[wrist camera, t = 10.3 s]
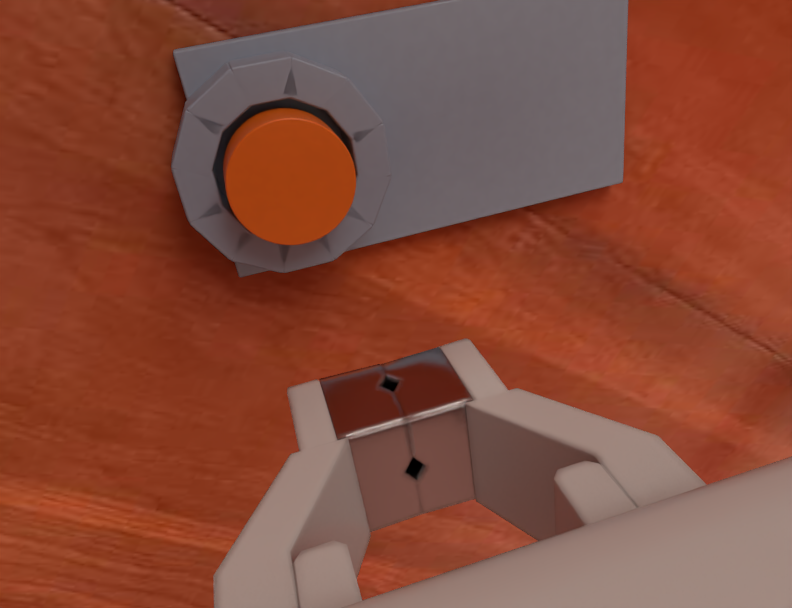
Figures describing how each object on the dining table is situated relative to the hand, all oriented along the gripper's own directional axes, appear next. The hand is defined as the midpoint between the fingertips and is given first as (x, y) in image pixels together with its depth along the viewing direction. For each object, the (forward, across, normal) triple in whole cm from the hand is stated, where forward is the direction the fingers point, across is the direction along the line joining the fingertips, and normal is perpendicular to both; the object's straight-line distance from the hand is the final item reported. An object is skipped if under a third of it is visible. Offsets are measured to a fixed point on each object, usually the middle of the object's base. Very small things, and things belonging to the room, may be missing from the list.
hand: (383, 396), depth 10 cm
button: (+13, 0, 0) cm, 13 cm away
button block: (+15, -6, 0) cm, 16 cm away
